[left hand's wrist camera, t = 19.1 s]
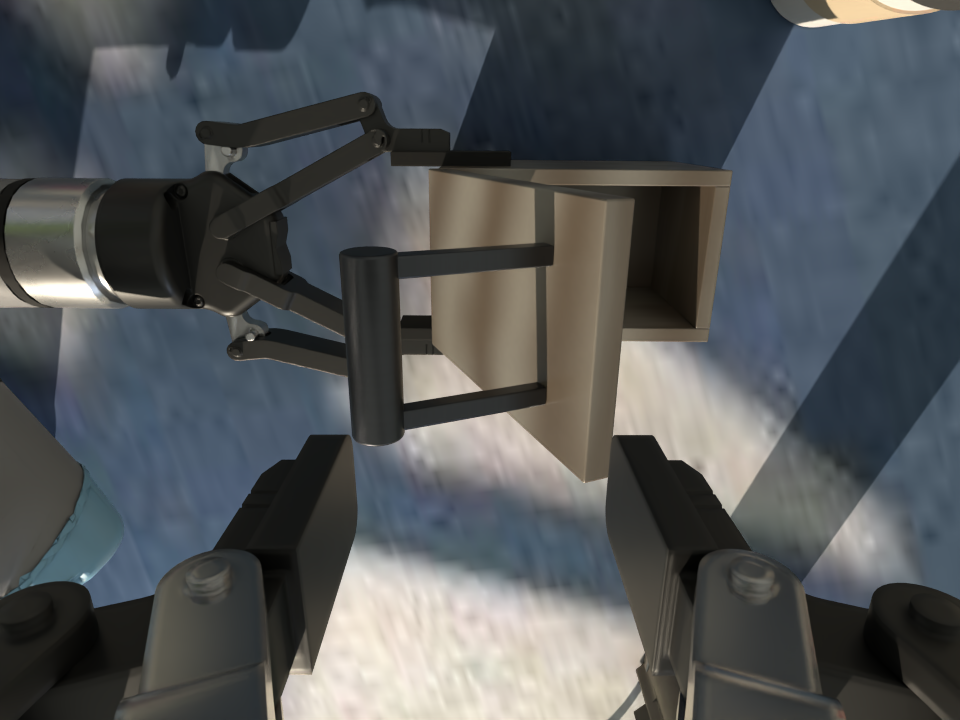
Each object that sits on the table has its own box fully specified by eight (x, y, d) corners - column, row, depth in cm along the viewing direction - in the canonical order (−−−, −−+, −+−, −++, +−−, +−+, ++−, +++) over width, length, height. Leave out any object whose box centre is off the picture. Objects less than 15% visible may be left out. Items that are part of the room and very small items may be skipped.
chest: (672, 161, 41) (732, 170, 31) (657, 295, 44) (707, 342, 35) (448, 159, 41) (438, 167, 31) (449, 293, 44) (441, 339, 35)
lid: (636, 198, 18) (359, 209, 15) (609, 478, 21) (379, 533, 18) (447, 168, 31) (283, 170, 28) (449, 341, 34) (301, 360, 31)
